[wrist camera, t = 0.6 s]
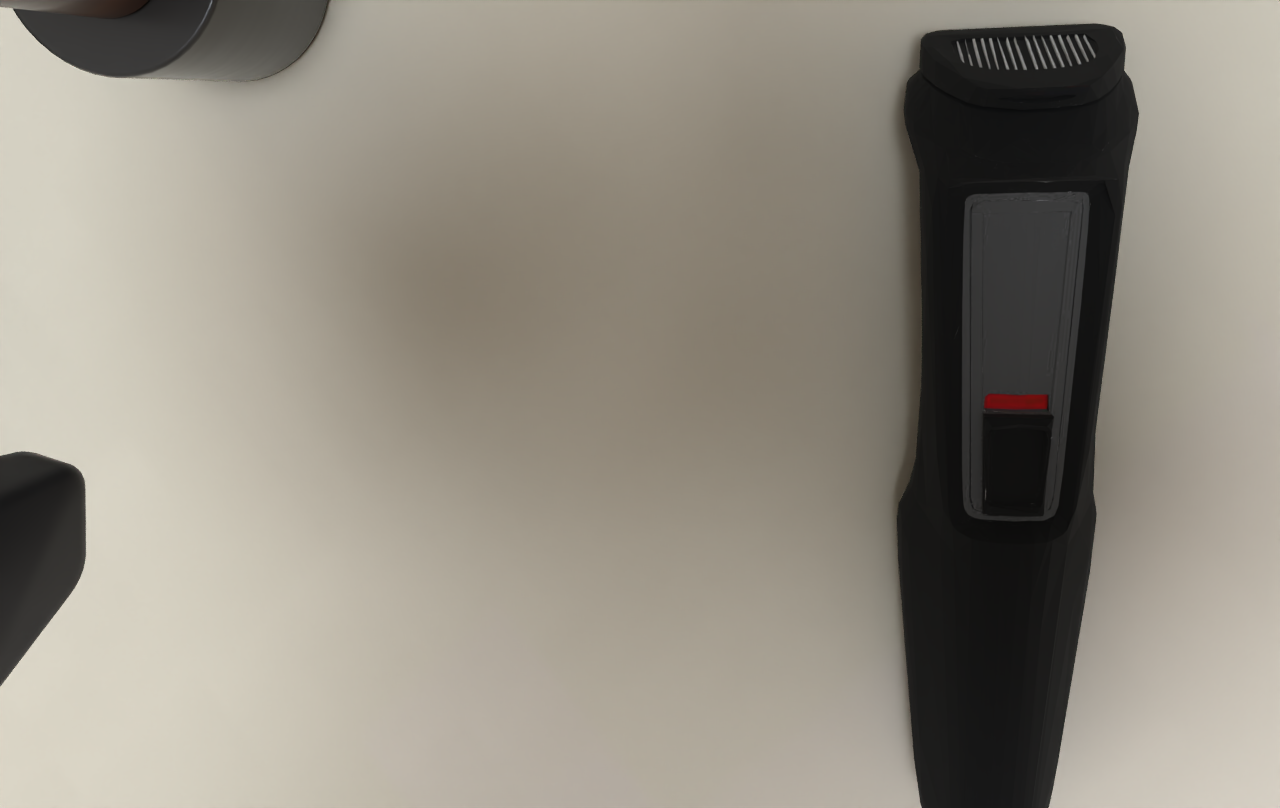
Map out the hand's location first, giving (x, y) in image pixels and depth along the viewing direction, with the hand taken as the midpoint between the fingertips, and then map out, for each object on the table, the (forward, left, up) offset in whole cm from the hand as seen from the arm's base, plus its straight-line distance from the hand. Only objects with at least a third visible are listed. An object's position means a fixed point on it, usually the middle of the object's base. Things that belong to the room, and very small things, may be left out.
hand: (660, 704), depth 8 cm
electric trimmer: (0, -5, -14) cm, 15 cm away
